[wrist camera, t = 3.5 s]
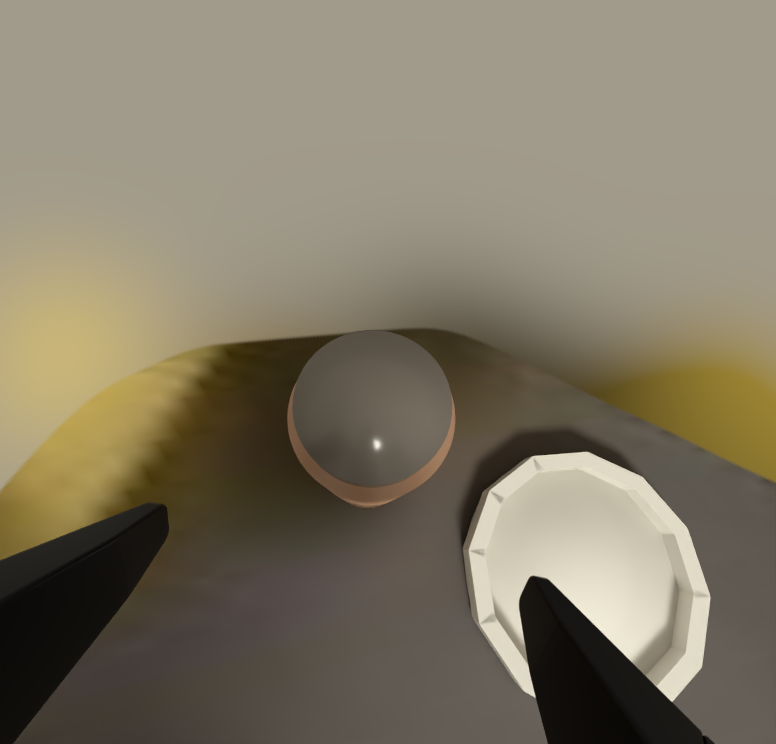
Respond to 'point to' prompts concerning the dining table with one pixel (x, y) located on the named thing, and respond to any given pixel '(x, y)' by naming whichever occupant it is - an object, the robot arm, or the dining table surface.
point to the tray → (589, 564)
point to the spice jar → (371, 417)
